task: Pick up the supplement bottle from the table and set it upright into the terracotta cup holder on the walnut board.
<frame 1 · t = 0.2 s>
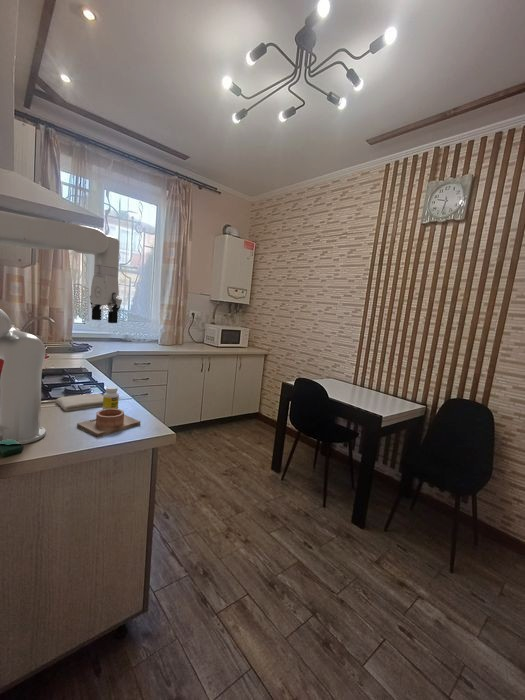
hand: (104, 321, 109), 36 cm above the worktop, tool pointing down, fingers open, 9 cm apart
cup station: (109, 425, 107), on the worktop
supplement bottle: (110, 412, 120), on the worktop
washcloth: (84, 405, 125), on the worktop
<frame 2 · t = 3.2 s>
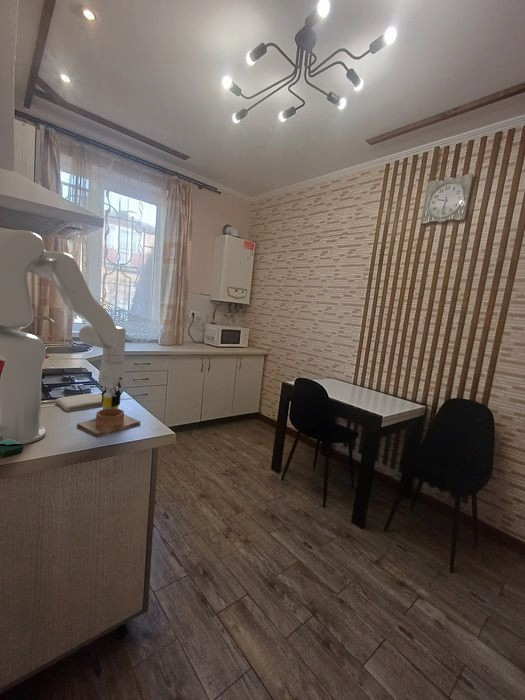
hand: (110, 403, 120), 4 cm above the worktop, tool pointing down, fingers closed on supplement bottle, 5 cm apart
supplement bottle: (110, 412, 120), on the worktop, touching gripper
everything else where it was.
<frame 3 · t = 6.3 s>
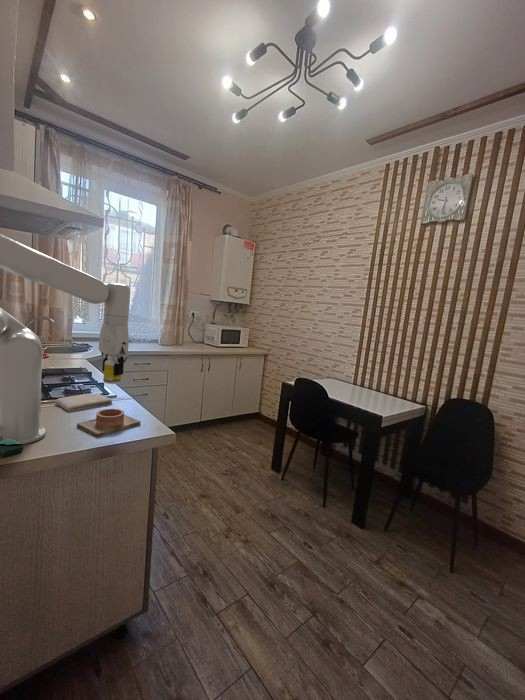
hand: (112, 372, 105), 19 cm above the worktop, tool pointing down, fingers closed on supplement bottle, 5 cm apart
supplement bottle: (112, 382, 105), point 15 cm above the worktop, touching gripper
everything else where it was.
when the fingers open (6 cm above the worktop, at t = 9.4 s): supplement bottle stays where it is, resting on cup station.
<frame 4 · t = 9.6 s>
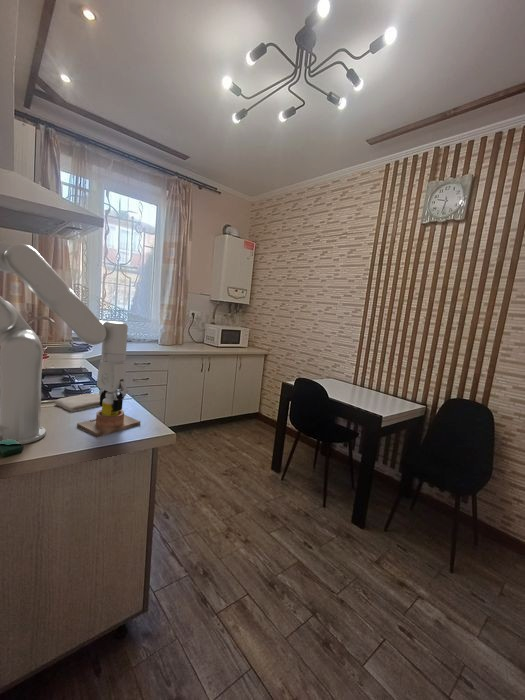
hand: (110, 407, 106), 7 cm above the worktop, tool pointing down, fingers open, 6 cm apart
supplement bottle: (109, 420, 107), point 2 cm above the worktop, touching cup station
everything else where it was.
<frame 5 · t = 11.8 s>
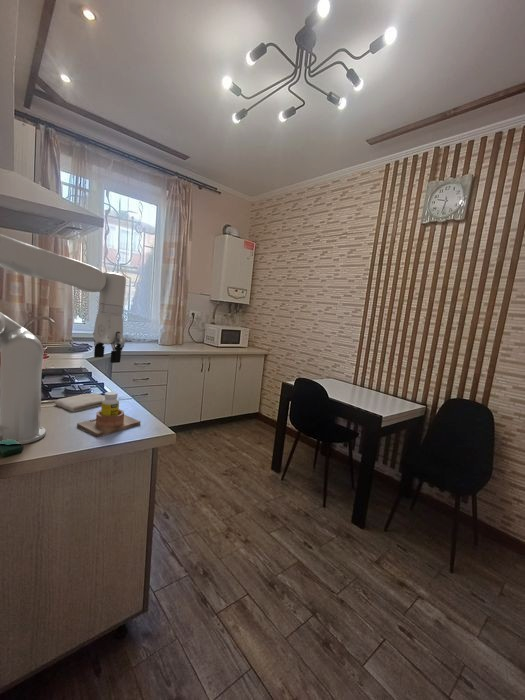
hand: (106, 359, 105), 23 cm above the worktop, tool pointing down, fingers open, 9 cm apart
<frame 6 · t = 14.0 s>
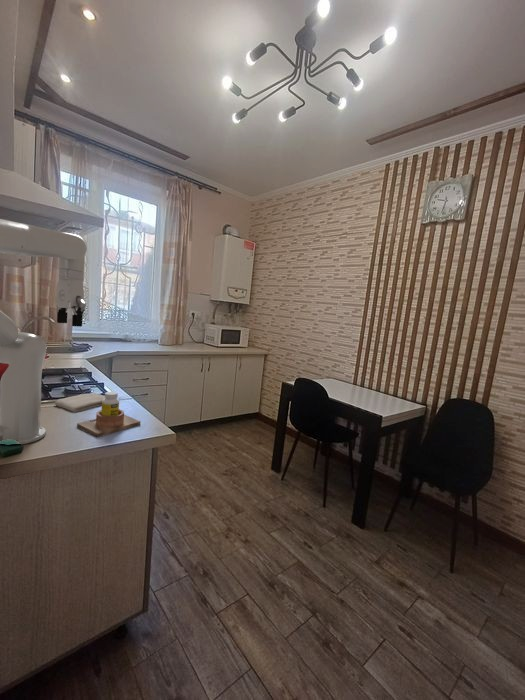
hand: (69, 324, 108), 33 cm above the worktop, tool pointing down, fingers open, 9 cm apart
at the end: supplement bottle 0.1 cm off-centre on the cup station, point 1.8 cm above the cup station's base; supplement bottle tilted 0°; the gripper is holding nothing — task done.
